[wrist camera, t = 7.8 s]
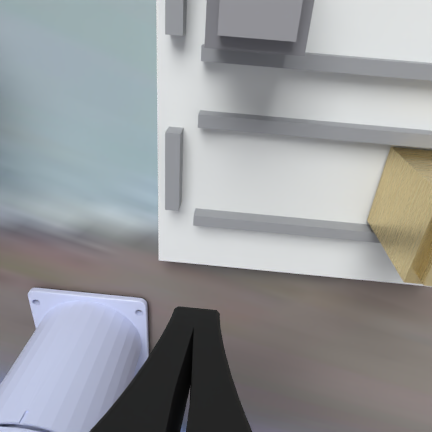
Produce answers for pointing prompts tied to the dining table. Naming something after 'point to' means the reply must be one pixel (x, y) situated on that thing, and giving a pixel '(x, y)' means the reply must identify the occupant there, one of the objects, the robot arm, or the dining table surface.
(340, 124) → the control board
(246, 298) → the dining table surface
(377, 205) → the slider brass
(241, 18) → the slider graphite
